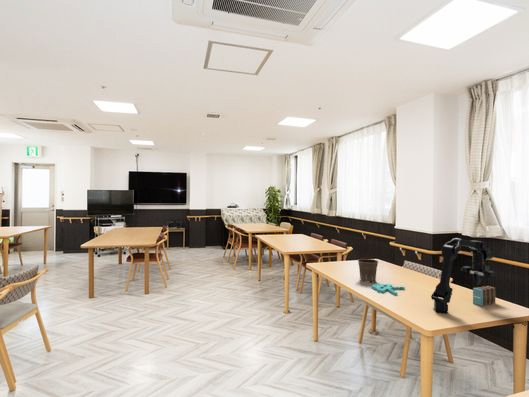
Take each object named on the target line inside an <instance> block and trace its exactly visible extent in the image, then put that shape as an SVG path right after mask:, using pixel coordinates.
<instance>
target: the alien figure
mask: <svg viewBox="0 0 529 397" xmlns="http://www.w3.org/2000/svg"><path fill="white" fill-rule="evenodd" d="M371 289H372V290H374V289H375V290H377V291H376V293H380V292H383V293H382V294H384V293H386V292H388V293H390V292H391V293H390V294H391V295H393V296H396V295H397V296H398V291H400V290H403V291H404V290H405V289H406V288H405V286H393V284H391V283H382V284H381V283H374V284H372V285H371ZM392 289H393V290H392ZM396 289H398V290H397V291H396ZM375 290H374V291H375ZM385 291H386V292H385Z"/></svg>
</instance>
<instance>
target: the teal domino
mask: <svg viewBox="0 0 529 397" xmlns="http://www.w3.org/2000/svg"><path fill="white" fill-rule="evenodd" d="M472 304H474V305H475V306H476V305H477V306H480V307H483V306H484V305H483V290H482V289H478V288H477V287H473V288H472Z"/></svg>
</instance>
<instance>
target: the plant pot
mask: <svg viewBox="0 0 529 397" xmlns="http://www.w3.org/2000/svg"><path fill="white" fill-rule="evenodd" d="M357 262H358V266H359V267H358V268H359V280H360V279H361V280H360V281H362V280H363V281H362V282H365V281H372V282H373V281H374V282H376V279H377V271H378V270H377V269H378V263H379V260H376V259H371V258H360V259H357Z"/></svg>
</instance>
